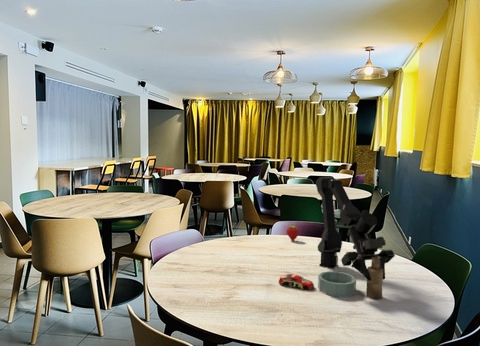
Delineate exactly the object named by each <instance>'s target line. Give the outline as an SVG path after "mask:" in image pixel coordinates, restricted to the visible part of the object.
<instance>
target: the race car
mask: <svg viewBox="0 0 480 346" xmlns="http://www.w3.org/2000/svg"><path fill="white" fill-rule="evenodd" d="M278 284H279V285H281V286H283V287H289V288H295V289H301V290H304V291H308V290H312V289H314V286H315V283H314V282H313V281H311V280H310V279H307V278H304V277H303V276H301V275H299V274H293V273H288V274H282V275H280V276H279V279H278Z"/></svg>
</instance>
